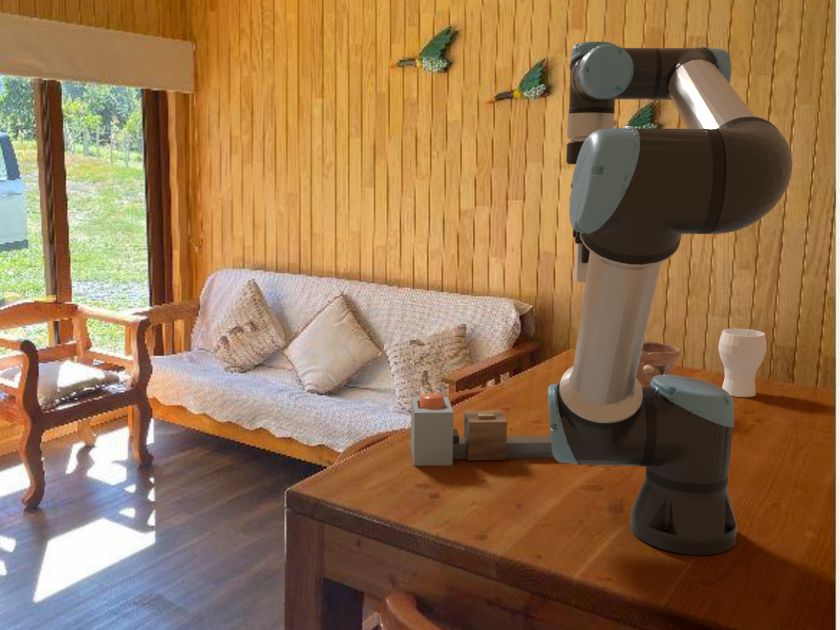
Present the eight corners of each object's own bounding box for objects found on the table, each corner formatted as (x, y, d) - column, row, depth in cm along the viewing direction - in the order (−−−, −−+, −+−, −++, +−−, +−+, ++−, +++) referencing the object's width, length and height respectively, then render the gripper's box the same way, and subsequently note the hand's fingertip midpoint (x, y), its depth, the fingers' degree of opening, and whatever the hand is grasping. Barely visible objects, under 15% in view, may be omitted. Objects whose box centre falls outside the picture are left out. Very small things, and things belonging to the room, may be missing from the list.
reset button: (444, 431, 151) (444, 400, 149) (420, 431, 150) (420, 400, 149) (442, 423, 155) (442, 393, 154) (418, 424, 155) (419, 393, 153)
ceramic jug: (679, 421, 176) (684, 356, 173) (610, 413, 180) (614, 350, 178) (681, 400, 193) (686, 341, 190) (618, 393, 197) (622, 336, 195)
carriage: (505, 459, 151) (507, 418, 150) (468, 460, 151) (469, 419, 149) (499, 446, 158) (500, 407, 156) (463, 447, 157) (464, 407, 156)
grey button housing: (452, 465, 149) (453, 412, 147) (413, 465, 148) (414, 412, 147) (446, 446, 159) (447, 396, 157) (410, 446, 158) (411, 397, 156)
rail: (577, 457, 154) (578, 434, 153) (450, 459, 152) (451, 436, 151) (572, 450, 157) (573, 427, 157) (448, 451, 156) (448, 429, 155)
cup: (709, 386, 204) (714, 327, 201) (752, 387, 203) (758, 328, 200) (723, 398, 193) (728, 336, 190) (768, 399, 193) (774, 337, 190)
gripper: (624, 139, 130) (616, 287, 134) (601, 141, 142) (594, 276, 147) (577, 139, 129) (571, 287, 134) (558, 141, 142) (553, 276, 146)
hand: (583, 281), depth 140 cm, fingers closed
